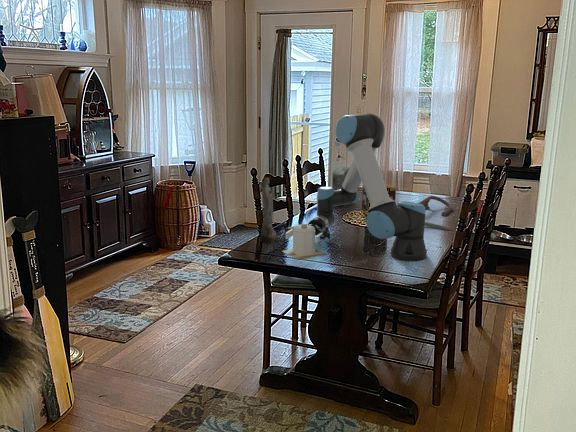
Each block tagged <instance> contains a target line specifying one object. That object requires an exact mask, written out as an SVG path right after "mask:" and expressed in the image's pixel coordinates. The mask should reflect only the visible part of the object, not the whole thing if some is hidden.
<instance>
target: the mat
mask: <svg viewBox="0 0 576 432" xmlns="http://www.w3.org/2000/svg"><path fill="white" fill-rule="evenodd" d="M326 240H328V241H329V242H332V243H333V244H337V245H340V246H341V244H340V243H338V242H335V241H333V240H331V239H327V238H326Z"/></svg>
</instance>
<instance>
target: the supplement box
mask: <svg viewBox="0 0 576 432" xmlns="http://www.w3.org/2000/svg"><path fill="white" fill-rule="evenodd" d="M385 185H386V187H389V188H390V199H392V200H394V201H395V202H396V197H397V196H396V193H397V187H395V186H393V185H390V184H388V183H385ZM361 196H362V199H361V201H362V202H361V213H362V212H363V213H362V214H364V213H365V211H366V196H367V195H366V192H365V189H364V186H363V185H362V195H361Z"/></svg>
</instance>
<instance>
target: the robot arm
mask: <svg viewBox="0 0 576 432" xmlns="http://www.w3.org/2000/svg"><path fill="white" fill-rule="evenodd" d="M385 132H386V131H385V124H384V122H383V121H382V119H381V118H380V117H379V116H378V115H376V114H374V113H362V114H361V113H360V114H352V113H351V114H348V115H346V114H345V115H344V116H342V117H340V118H339V120H338V122H337V123H336V127H335V135H336V136H335V137H336V139H337V141H338V142H339V143H340V144H343V145H345V147H346V150H347V151H348V152H350V153H351V155H352V157H353V160H352V161H351V164H350V166H349V171H348V173H347V175H346V178H345V180H344V182H343V185H342V187H341V189H339V190H334V189H333V188H332V186H320V187H318V188H317V192H316V202H317V203H316V204H317V205H316V206H317V209H316V216H315V217H314V218H312V219H311V220H310V221H308V223H307V225H310V226H313V227H314V228H315V244H318V243H319V242H320V241H322V240H327V239H328V240H331V232H330V229H329V228H330V227H332V226H333V224H334V223H335V221H336V215H335V213H334V207H339V206H343V205H345V206H346V205H351V204H355V203H357V201H358V200H359V198H360V197H359V195H360V192H359V190H358V189H359V187H360V184H361V183H362V187H363V186H364V189H365V192H366V195H367V198H368V200H369V203H370V207H369V209H368V212H369V214H368V215H366V223H365V224H366V227H367V230H368V231H369V233H370V235H372V236H373V237H375V238H377V239H383V240H384V239H390V238H393V237H395V238H394V241H393V244H392V246H391V249H390V256H391V257H393V258H395V259H398V260H401V261H410V262H411V261H414V262H415V261H422V260H425V259H426V258H427V255H428V251H427V248H426V244H425V239H424V238H425V236H424V235H425V227H426V226H425V222H426V209H425V206H424V205H422V204H419V202H413V201H406V200H405V201H404V200H402V201H401V200H400V201H398V202H396V200H395V201H394V200H392V199H390V197H389V194H388V191H387V188H386V185H385V184H386V183H385V180H384V176H383V174H382V171H381V169H380V166H379V163H378V160H377V158H376V155H375V153H376V150H377V149H379V148H380V147H381V145H382V143H383V142H384V138H385ZM301 224H302V223H300V224H298V225H301ZM298 225H293V226H288V227H286V228H285V240H288V239H290V238H291V237H293V230H294V227H295V226H298Z"/></svg>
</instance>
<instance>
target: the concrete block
mask: <svg viewBox="0 0 576 432" xmlns="http://www.w3.org/2000/svg"><path fill="white" fill-rule="evenodd" d="M349 168H350V166H349V167H348V166H339V167H336V169H334V170H333V171H332V176H331V177H332V181H331V182H332V184H331V185H332V186H331V187H332V188H333V189H334V190H339V189H341V187H342V185H343V182H344V180H345V178H346V175H347V173H348V171H349Z"/></svg>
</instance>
